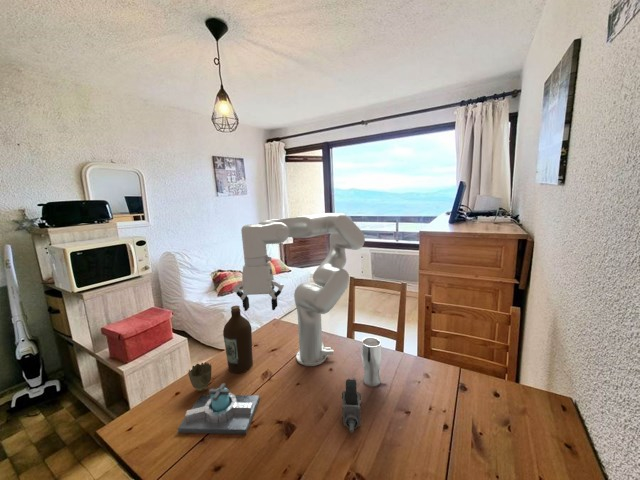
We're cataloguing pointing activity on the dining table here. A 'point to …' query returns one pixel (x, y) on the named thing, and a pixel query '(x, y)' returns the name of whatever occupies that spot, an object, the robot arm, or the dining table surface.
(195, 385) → the cup
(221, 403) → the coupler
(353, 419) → the caster wheel
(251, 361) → the olive oil
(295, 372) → the dining table surface
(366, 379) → the beer glass
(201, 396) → the coupling base
